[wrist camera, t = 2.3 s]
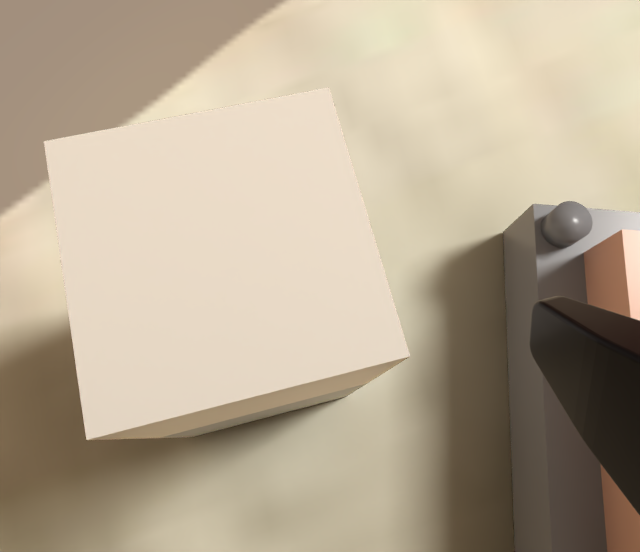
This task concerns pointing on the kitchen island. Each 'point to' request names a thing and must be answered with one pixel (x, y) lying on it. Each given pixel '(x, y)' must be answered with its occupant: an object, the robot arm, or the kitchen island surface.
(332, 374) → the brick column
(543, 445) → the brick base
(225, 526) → the kitchen island surface
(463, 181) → the kitchen island surface
